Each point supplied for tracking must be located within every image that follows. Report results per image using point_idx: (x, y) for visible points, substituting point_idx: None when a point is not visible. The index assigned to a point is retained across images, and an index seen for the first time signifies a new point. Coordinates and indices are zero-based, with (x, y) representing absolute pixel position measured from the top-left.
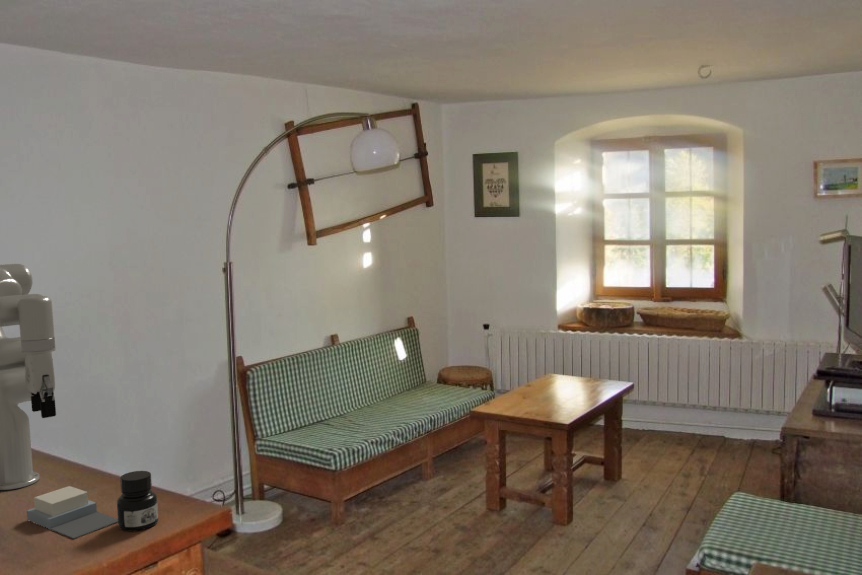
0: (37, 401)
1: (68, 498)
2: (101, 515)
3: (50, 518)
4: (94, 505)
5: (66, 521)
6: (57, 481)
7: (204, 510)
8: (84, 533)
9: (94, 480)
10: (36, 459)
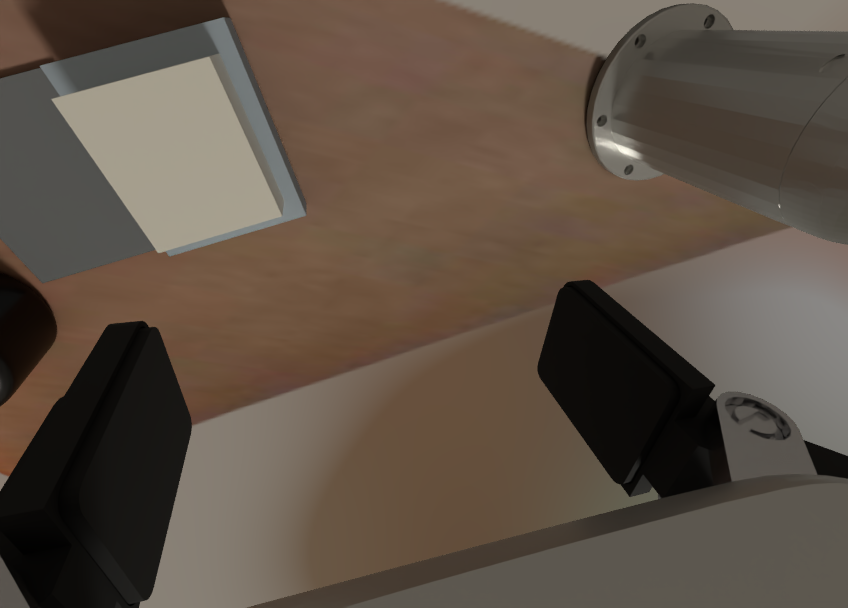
0: (605, 384)
1: (106, 177)
2: (124, 246)
3: (48, 73)
4: None
5: None
6: (550, 211)
7: None
8: None
9: (474, 291)
10: None
